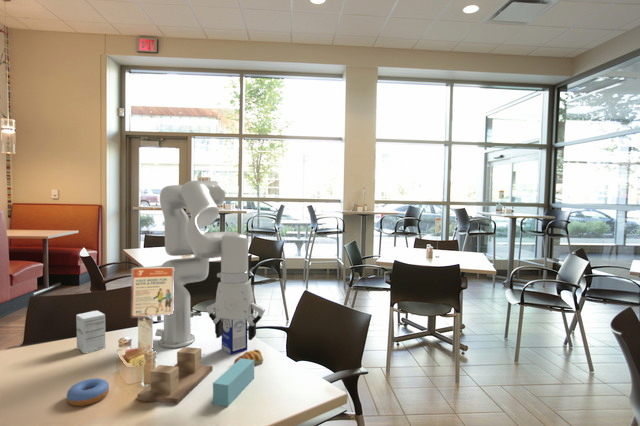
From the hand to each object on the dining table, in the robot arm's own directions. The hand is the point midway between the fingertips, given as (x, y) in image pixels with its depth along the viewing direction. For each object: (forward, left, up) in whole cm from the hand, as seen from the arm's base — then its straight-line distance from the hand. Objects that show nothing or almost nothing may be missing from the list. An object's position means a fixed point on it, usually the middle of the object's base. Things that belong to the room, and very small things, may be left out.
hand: (235, 337), depth 108 cm
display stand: (-18, 0, -16) cm, 24 cm away
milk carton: (-12, +27, -16) cm, 34 cm away
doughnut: (-38, -12, -16) cm, 43 cm away
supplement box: (-63, +17, -16) cm, 68 cm away
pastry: (-3, +18, -16) cm, 24 cm away
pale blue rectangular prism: (0, 0, -16) cm, 16 cm away
